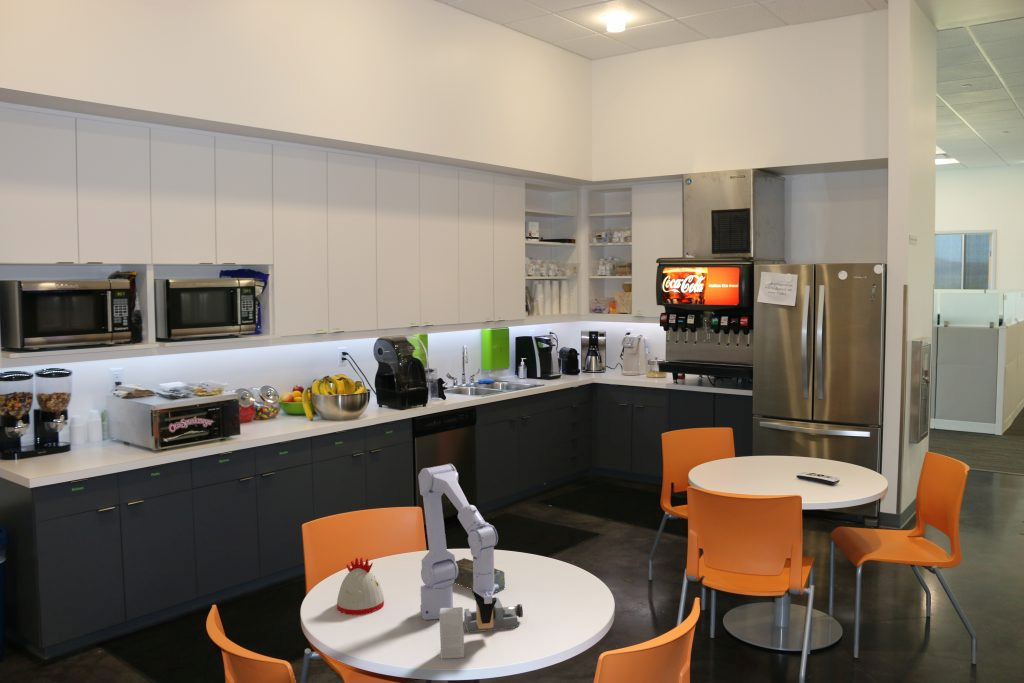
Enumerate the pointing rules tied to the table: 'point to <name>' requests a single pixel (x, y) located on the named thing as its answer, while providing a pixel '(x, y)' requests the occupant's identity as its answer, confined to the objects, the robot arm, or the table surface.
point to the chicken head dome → (360, 590)
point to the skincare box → (451, 632)
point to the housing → (497, 619)
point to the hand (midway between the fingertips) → (484, 619)
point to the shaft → (513, 611)
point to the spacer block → (479, 622)
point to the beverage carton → (467, 575)
